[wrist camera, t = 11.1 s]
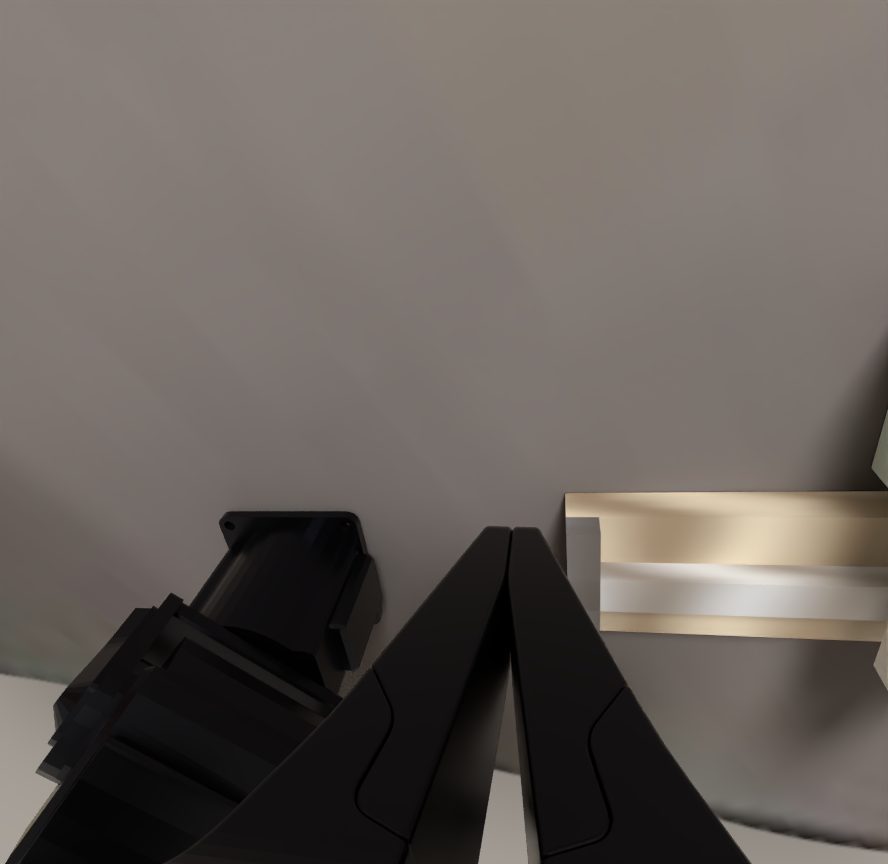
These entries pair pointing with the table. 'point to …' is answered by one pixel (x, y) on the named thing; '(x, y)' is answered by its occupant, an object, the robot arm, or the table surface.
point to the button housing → (882, 455)
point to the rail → (732, 562)
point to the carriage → (883, 660)
